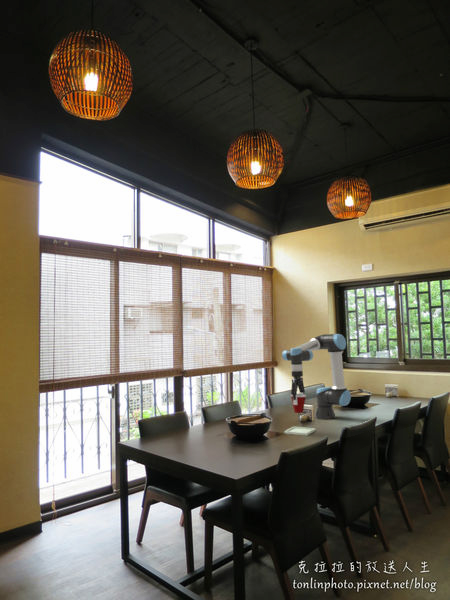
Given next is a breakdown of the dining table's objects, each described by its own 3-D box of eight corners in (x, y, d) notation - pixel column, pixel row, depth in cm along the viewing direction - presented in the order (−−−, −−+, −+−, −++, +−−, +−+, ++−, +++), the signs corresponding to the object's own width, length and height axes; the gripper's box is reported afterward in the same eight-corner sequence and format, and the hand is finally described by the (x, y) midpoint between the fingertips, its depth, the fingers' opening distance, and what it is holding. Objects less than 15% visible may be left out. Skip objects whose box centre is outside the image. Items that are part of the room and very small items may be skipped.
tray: (293, 428, 297) (293, 426, 297) (315, 430, 288) (315, 428, 288) (284, 433, 283) (284, 431, 283) (307, 435, 275) (306, 433, 275)
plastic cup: (301, 414, 279) (301, 395, 280) (287, 412, 286) (287, 394, 287) (310, 411, 287) (309, 393, 288) (296, 410, 294) (295, 392, 295)
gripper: (298, 369, 301) (299, 400, 299) (285, 372, 281) (286, 405, 279) (308, 369, 297) (310, 401, 295) (295, 372, 277) (297, 406, 275)
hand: (298, 403), depth 287 cm, fingers closed on plastic cup, 11 cm apart
